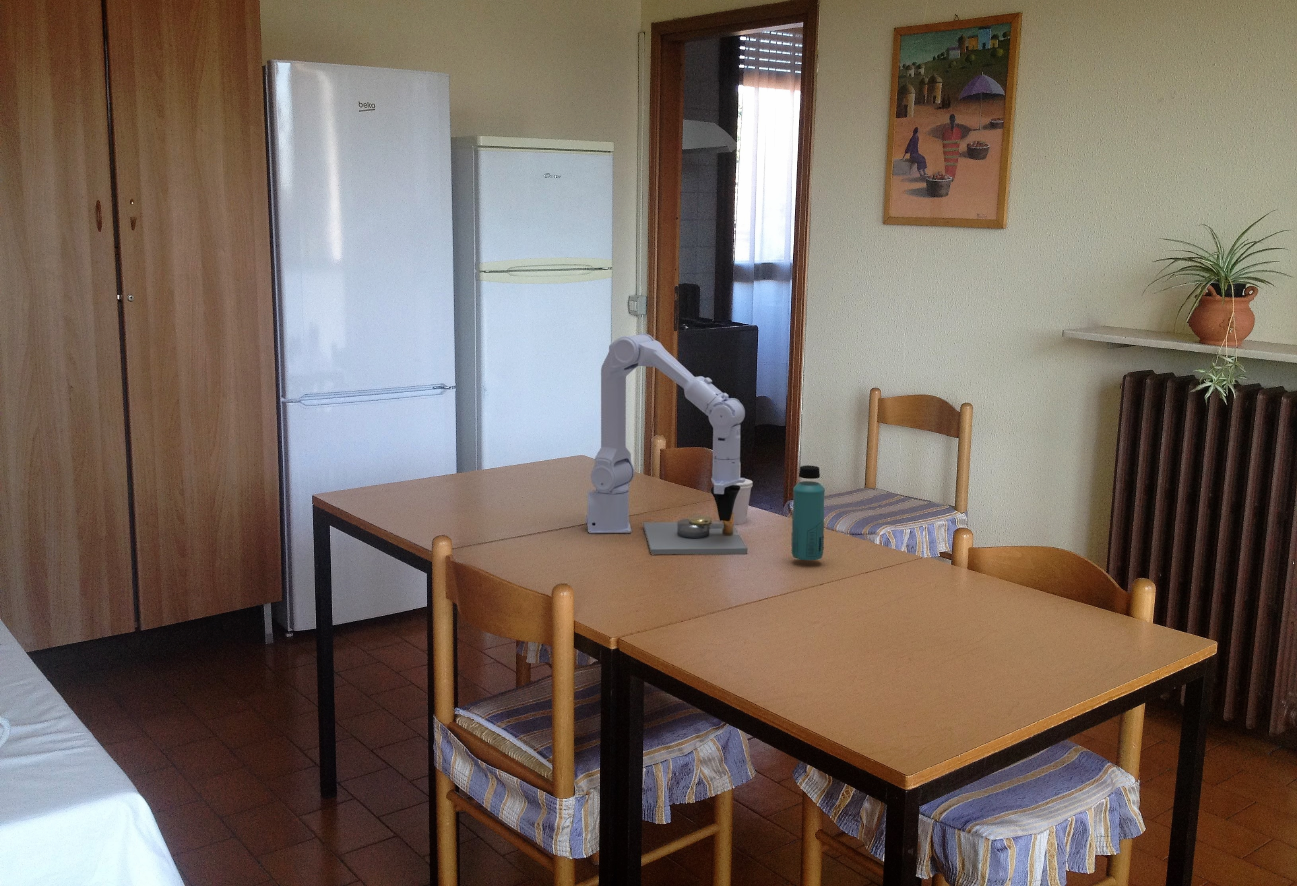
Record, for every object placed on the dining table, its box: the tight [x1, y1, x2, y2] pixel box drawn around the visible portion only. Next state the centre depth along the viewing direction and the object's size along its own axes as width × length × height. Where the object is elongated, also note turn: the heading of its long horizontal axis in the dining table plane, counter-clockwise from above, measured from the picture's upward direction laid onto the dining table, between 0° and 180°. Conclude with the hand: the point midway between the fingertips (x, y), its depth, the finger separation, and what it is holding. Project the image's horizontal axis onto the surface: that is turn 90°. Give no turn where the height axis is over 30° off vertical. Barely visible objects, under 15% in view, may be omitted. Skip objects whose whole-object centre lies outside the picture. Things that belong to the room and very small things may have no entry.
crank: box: [677, 513, 735, 538], centre depth 250 cm, size 12×7×4 cm, turn 94°
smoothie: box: [732, 475, 754, 525], centre depth 265 cm, size 6×6×14 cm
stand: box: [642, 521, 748, 555], centre depth 250 cm, size 20×22×1 cm
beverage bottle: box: [790, 464, 826, 561], centre depth 233 cm, size 6×7×20 cm
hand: (725, 520), depth 246 cm, fingers closed
